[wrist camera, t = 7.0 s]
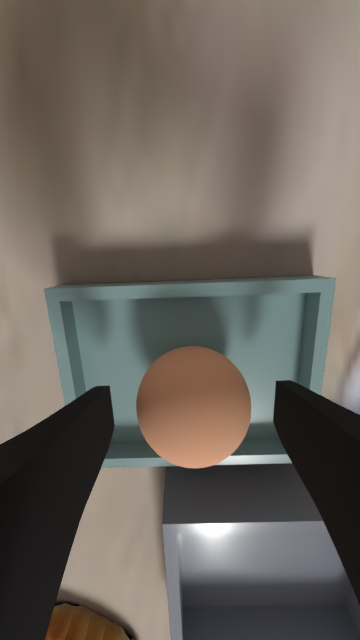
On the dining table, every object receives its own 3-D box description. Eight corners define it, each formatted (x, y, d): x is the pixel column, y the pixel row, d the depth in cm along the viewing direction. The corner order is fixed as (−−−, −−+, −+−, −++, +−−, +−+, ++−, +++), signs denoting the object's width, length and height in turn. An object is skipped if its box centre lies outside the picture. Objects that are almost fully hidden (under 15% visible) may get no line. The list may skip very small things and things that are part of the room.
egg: (235, 328, 12) (271, 373, 7) (236, 411, 13) (268, 497, 9) (140, 335, 12) (113, 385, 7) (150, 417, 14) (133, 505, 9)
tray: (313, 275, 12) (336, 278, 10) (296, 438, 15) (312, 462, 13) (63, 284, 12) (43, 288, 11) (89, 443, 15) (76, 468, 13)
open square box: (376, 460, 15) (432, 518, 12) (346, 599, 18) (383, 677, 15) (166, 465, 15) (162, 524, 12) (175, 602, 19) (173, 679, 15)
